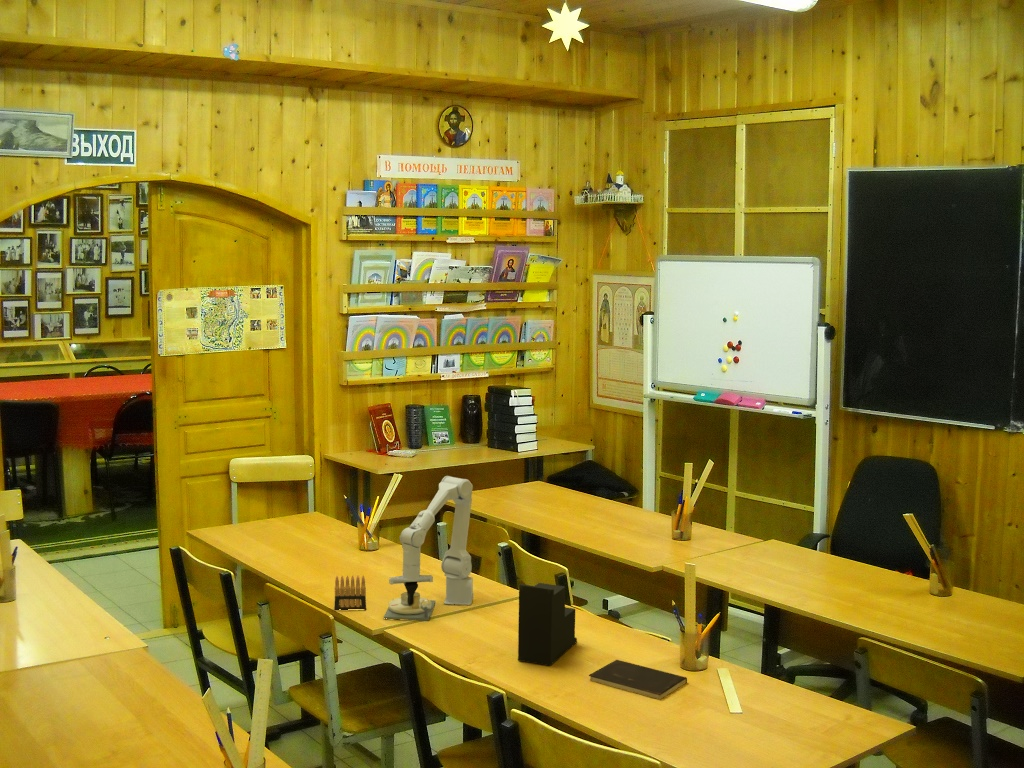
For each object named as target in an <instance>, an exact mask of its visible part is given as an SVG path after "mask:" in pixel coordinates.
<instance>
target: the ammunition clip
mask: <svg viewBox="0 0 1024 768" xmlns="http://www.w3.org/2000/svg"><path fill="white" fill-rule="evenodd" d="M338 576H339V575H336V577H335V580H334V582H335V585H334V605H333V606H334V607H333V608H334V609H333V610H339V609H341V610H348V609H366V610H367V598H366V597H367V595H366V594H367V592H366V591H367V590H366V579H365V576H364V574H363V575H362V577H361V580H360V576H359V575H356V579H355V577H354V575H352V576H351V579H350V578H349V576H348V575H346V578H345V579H344V576H343V575H341V577H340V580H339V577H338ZM355 580H356V581H355ZM360 581H361V582H360ZM355 583H356V584H355Z"/></svg>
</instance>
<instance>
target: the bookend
mask: <svg viewBox="0 0 1024 768" xmlns="http://www.w3.org/2000/svg"><path fill="white" fill-rule="evenodd" d="M518 587H519V588H518V589H519V590H518V629H517V630H518V633H517V634H518V635H517V636H518V638H517V639H518V642H517V646H518V647H517V661H519V662H525V663H532V664H538V665H545V666H552V665H553V664H555V662H556V661H558V660H559V658H561V657H562V656H563V655H565V653H566V652H568V651H569V650H570V649H571V648H572V647H573V646H574V645H575V644H576V643H578V638H577V637H576V608H572V607H567V606H566V586H564V585H559V584H557V585H556V584H549V583H543V582H538V583H536V585H529V584H528V585H527V584H519V585H518ZM575 642H576V643H575ZM572 645H573V646H572ZM569 648H570V649H569ZM568 649H569V650H568Z"/></svg>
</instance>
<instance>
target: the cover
mask: <svg viewBox="0 0 1024 768" xmlns="http://www.w3.org/2000/svg"><path fill="white" fill-rule="evenodd" d="M414 595H418V596H419V604H420V598H421V594H420V593H419V592H417V591H415V593H414ZM400 598H401V604H402V605H405V606H412V605H409V604H408V593H407V591H405V592H402V593H401V594H400Z"/></svg>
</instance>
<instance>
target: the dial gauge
mask: <svg viewBox="0 0 1024 768" xmlns="http://www.w3.org/2000/svg"><path fill="white" fill-rule="evenodd" d="M429 600H430V599H428V600H423V601H422V602H421V608H422V610H424V617H428V610H430V609H431V606H432V604H431V602H430V601H429Z"/></svg>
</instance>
